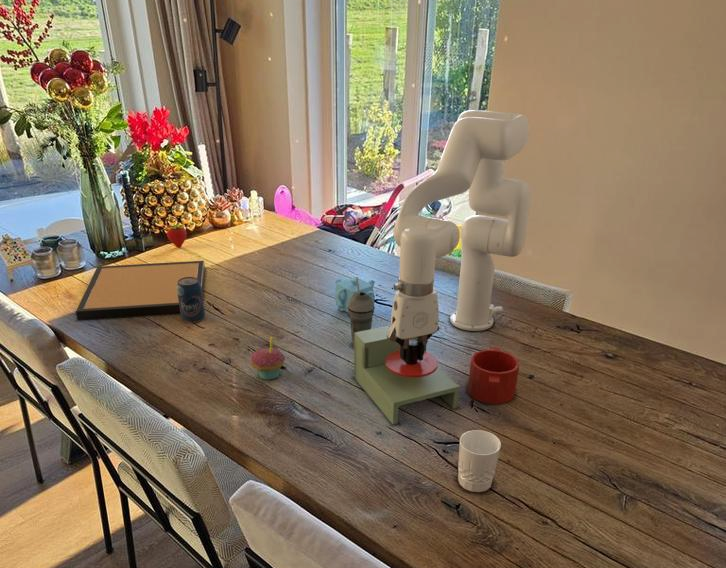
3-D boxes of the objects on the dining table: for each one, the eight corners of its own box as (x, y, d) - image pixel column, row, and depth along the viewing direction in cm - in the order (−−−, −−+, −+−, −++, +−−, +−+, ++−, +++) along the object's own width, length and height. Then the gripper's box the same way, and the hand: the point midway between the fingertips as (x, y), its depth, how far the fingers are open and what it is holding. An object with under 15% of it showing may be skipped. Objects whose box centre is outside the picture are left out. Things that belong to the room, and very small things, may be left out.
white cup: (451, 469, 130) (455, 430, 124) (489, 467, 130) (495, 429, 125) (459, 495, 123) (464, 455, 118) (499, 493, 124) (505, 453, 118)
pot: (514, 375, 161) (518, 346, 156) (514, 412, 147) (520, 381, 143) (469, 371, 163) (472, 342, 158) (465, 407, 149) (469, 376, 144)
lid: (439, 356, 151) (441, 333, 148) (435, 382, 141) (437, 358, 137) (389, 351, 153) (390, 328, 149) (381, 376, 143) (382, 353, 139)
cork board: (200, 312, 191) (205, 268, 220) (199, 303, 189) (203, 260, 219) (77, 320, 186) (99, 274, 215) (75, 311, 184) (97, 266, 213)
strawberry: (166, 247, 237) (161, 221, 232) (184, 243, 241) (180, 217, 236) (173, 252, 233) (169, 225, 228) (191, 247, 237) (188, 221, 232)
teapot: (321, 306, 195) (320, 275, 190) (356, 294, 202) (356, 264, 197) (357, 326, 183) (357, 295, 178) (393, 313, 191) (394, 282, 185)
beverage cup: (371, 353, 170) (372, 284, 160) (345, 350, 172) (344, 281, 161) (376, 340, 176) (377, 273, 166) (350, 337, 178) (350, 271, 167)
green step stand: (457, 407, 149) (462, 360, 142) (392, 424, 143) (394, 376, 136) (413, 364, 166) (416, 319, 158) (354, 377, 160) (354, 332, 153)
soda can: (184, 325, 183) (177, 287, 177) (179, 315, 189) (173, 278, 182) (207, 321, 186) (202, 283, 179) (202, 311, 191) (197, 274, 185)
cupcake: (291, 369, 163) (288, 328, 156) (276, 386, 156) (273, 344, 149) (261, 364, 165) (257, 323, 159) (245, 380, 158) (241, 338, 152)
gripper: (390, 298, 130) (387, 374, 140) (457, 286, 136) (450, 359, 146) (374, 285, 136) (373, 358, 146) (440, 273, 142) (434, 345, 152)
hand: (411, 358), depth 146 cm, fingers closed on lid, 2 cm apart
